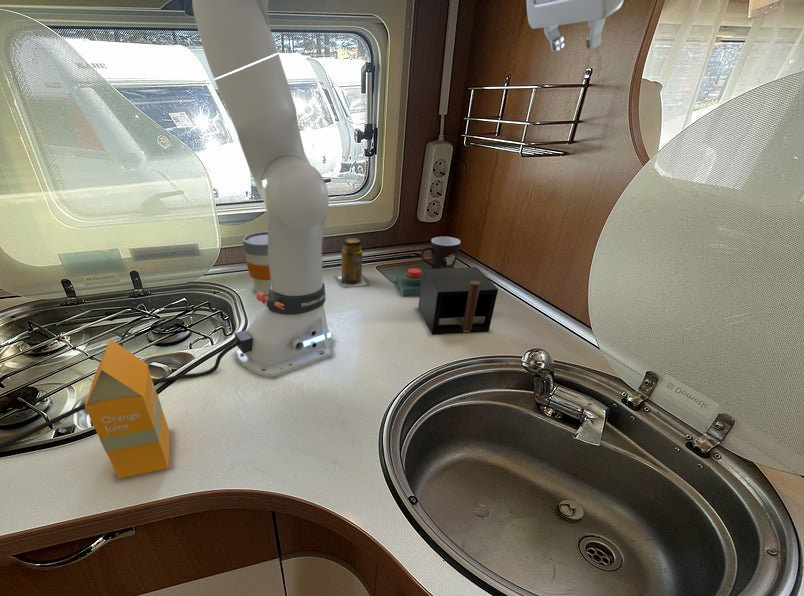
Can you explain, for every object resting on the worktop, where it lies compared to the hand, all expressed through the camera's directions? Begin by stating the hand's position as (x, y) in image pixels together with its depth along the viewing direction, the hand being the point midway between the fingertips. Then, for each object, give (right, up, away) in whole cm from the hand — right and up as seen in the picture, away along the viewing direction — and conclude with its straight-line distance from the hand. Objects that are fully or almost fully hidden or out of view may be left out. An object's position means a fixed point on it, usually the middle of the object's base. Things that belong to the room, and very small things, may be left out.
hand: (575, 48), depth 79 cm
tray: (-15, -47, +24) cm, 55 cm away
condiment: (-40, -32, +50) cm, 71 cm away
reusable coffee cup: (-64, -35, +45) cm, 86 cm away
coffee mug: (-13, -28, +54) cm, 62 cm away
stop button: (-22, -32, +42) cm, 58 cm away
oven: (-15, -47, +28) cm, 57 cm away
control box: (-22, -35, +44) cm, 61 cm away
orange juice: (-77, -75, -9) cm, 107 cm away
